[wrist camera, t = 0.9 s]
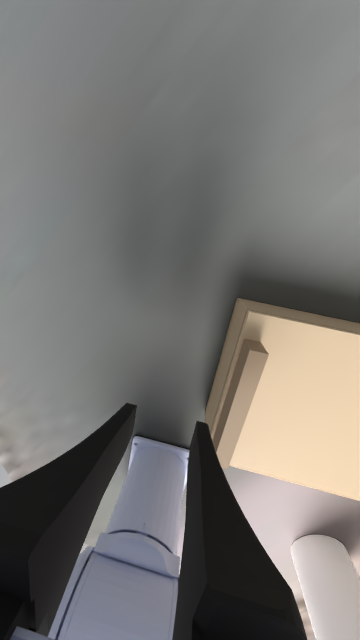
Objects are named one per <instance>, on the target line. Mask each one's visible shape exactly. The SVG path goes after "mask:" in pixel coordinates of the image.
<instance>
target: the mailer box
mask: <svg viewBox="0 0 360 640" xmlns="http://www.w3.org/2000/svg"><path fill="white" fill-rule="evenodd" d="M247 310H251V311H256V312H261V313H265V314H270V315H275V316H279V317H284V318H289V319H294V320H298V321H303V322H308V323H312V324H317V325H322V326H326V327H331V328H336V329H341V330H345V331H350V332H355V333H359V334H360V323H356V322H351V321H346V320H341V319H337V318H332V317H327V316H322V315H318V314H313V313H308V312H303V311H298V310H294V309H289V308H284V307H279V306H274V305H270V304H265V303H260V302H255V301H251V300H246V299H241V298H237V300H236V303H235V307H234V310H233V314H232V318H231V321H230V325H229V328H228V332H227V335H226V339H225V343H224V346H223V350H222V353H221V357H220V361H219V364H218V368H217V371H216V375H215V378H214V382H213V386H212V389H211V393H210V396H209V400H208V404H207V407H206V411H205V423H207V424H208V426H209V430H210V433H211V430H212V426H213V423H214V420H215V416H216V413H217V410H218V406H219V403H220V400H221V397H222V393H223V390H224V387H225V383H226V380H227V377H228V373H229V370H230V367H231V363H232V360H233V357H234V353H235V350H236V347H237V343H238V340H239V337H240V333H241V330H242V327H243V323H244V320H245V317H246V314H247Z"/></svg>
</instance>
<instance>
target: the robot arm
mask: <svg viewBox="0 0 360 640" xmlns="http://www.w3.org/2000/svg"><path fill="white" fill-rule="evenodd" d="M136 407H137V405H133V404H129V403H126V404H125V405H124V406H123V407H122V408H121V409H120V410H119V411H118V412H117V413H116V414H115V415H113V416H112V417H111V418H110V419H109V420H108V421H107V422H106V423H104V424H103V425H102V426H101V427H100V428H99V429H97V430H96V431H95V432H94V433H92V434H91V435H90V436H88V437H87V438H86V439H85V440H83V441H82V442H80V443H79V444H78V445H76V446H75V447H73V448H72V449H70V450H69V451H67V452H66V453H64V454H63V455H61V456H59V457H58V458H56V459H55V460H53V461H51V462H50V463H48V464H46V465H44V466H43V467H41V468H39V469H37V470H35V471H33V472H31V473H30V474H28V475H26V476H24V477H22V478H20V479H18V480H16V481H14V482H12V483H10V484H8V485H5V486H3V487H1V488H0V640H307V637H306V633H305V629H304V626H303V622H302V619H301V616H300V613H299V610H298V607H297V604H296V601H295V598H294V595H293V592H292V589H291V588H290V587H289V585H288V584H287V582H286V581H285V579H284V578H283V577H282V575H281V574H280V572H279V571H278V569H277V568H276V566H275V565H274V563H273V562H272V560H271V559H270V557H269V556H268V554H267V553H266V551H265V549H264V548H263V546H262V545H261V543H260V542H259V540H258V538H257V537H256V535H255V533H254V531H253V530H252V528H251V526H250V524H249V523H248V521H247V519H246V518H245V516H244V514H243V512H242V510H241V508H240V506H239V504H238V503H237V501H236V499H235V496H234V494H233V492H232V490H231V488H230V486H229V484H228V482H227V479H226V477H225V474H224V472H223V470H222V467H221V465H220V462H219V459H218V456H217V454H216V451H215V448H214V445H213V441H212V438H211V434H210V430H209V426H208V424H207V423H203V422H199V421H197V423H196V426H195V430H194V434H193V438H192V441H191V445H190V450H188V449H184V448H180V447H176V446H173V445H169V444H165V443H162V442H158V441H154V440H150V439H147V438H143V437H139V436H135V437H134V438H133V441H132V448H131V455H130V461H129V468H128V473H127V476H126V478H125V481H124V484H123V486H122V489H121V492H120V494H119V497H118V500H117V502H116V505H115V507H114V510H113V513H112V515H111V518H110V521H109V523H108V526H107V529H106V531H105V533H100V536H99V538H98V541H97V543H96V546H95V547H92V546H88V547H87V548H86V549H85V550H84V551H83V552H82V553H80V551H81V548H82V546H83V543H84V541H85V538H86V536H87V533H88V531H89V528H90V526H91V523H92V521H93V519H94V516H95V514H96V511H97V509H98V506H99V504H100V501H101V499H102V497H103V495H104V493H105V491H106V489H107V487H108V485H109V483H110V481H111V479H112V477H113V475H114V473H115V471H116V469H117V467H118V465H119V463H120V461H121V459H122V457H123V455H124V453H125V451H126V448H127V446H128V443H129V441H130V438H131V435H132V433H133V427H134V420H135V414H136ZM186 482H187V495H186V520H185V532H184V542H183V551H182V560H181V569H180V574H179V565H180V557H179V556H177V548H178V539H179V529H180V520H181V510H182V500H183V492H184V489H185V485H186ZM79 553H80V554H79Z"/></svg>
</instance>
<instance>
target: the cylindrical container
mask: <svg viewBox="0 0 360 640" xmlns="http://www.w3.org/2000/svg"><path fill="white" fill-rule="evenodd" d="M291 555H292V559H293V562H294V566H295V569H296V572H297V576H298V579H299V583H300V586H301V590H302V593H303V597H304V600H305V604H306V607H307V611H308V614H309V617H310V621H311V624H312V628H313V631H314V635H315V638H316V640H360V577H359V575H358V572H357V570H356V568H355V566H354V564H353V562H352V560H351V558H350V556H349V554H348V552H347V550H346V548H345V546H344V545H343V544H342V543H341V542H339V541H338V540H336V539H334V538H332V537H329V536H325V535H307V536H303V537H301V538H299V539H297V540H296V541H294V542H293V544H292V545H291Z"/></svg>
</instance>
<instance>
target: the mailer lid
mask: <svg viewBox="0 0 360 640" xmlns="http://www.w3.org/2000/svg"><path fill="white" fill-rule="evenodd" d="M210 434H211V438H212V441H213V445H214V448H215V451H216V454H217V456H218V459H219V462H220V465H221V467H222V468H225V469H228V467H229V466H233V467H236V468H240V469H244V470H247V471H251V472H255V473H258V474H262V475H266V476H270V477H273V478H277V479H281V480H284V481H288V482H292V483H295V484H299V485H303V486H306V487H310V488H314V489H317V490H321V491H325V492H328V493H332V494H336V495H340V496H343V497H347V498H351V499H354V500H358V501H360V334H359V333H355V332H350V331H345V330H341V329H336V328H331V327H326V326H322V325H317V324H312V323H308V322H303V321H298V320H294V319H289V318H284V317H279V316H275V315H270V314H265V313H261V312H256V311H251V310H247V314H246V317H245V320H244V323H243V327H242V330H241V333H240V337H239V340H238V343H237V347H236V350H235V353H234V357H233V360H232V363H231V367H230V370H229V373H228V377H227V380H226V383H225V387H224V390H223V393H222V397H221V400H220V403H219V406H218V410H217V413H216V416H215V420H214V423H213V426H212V430H211V433H210Z"/></svg>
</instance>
